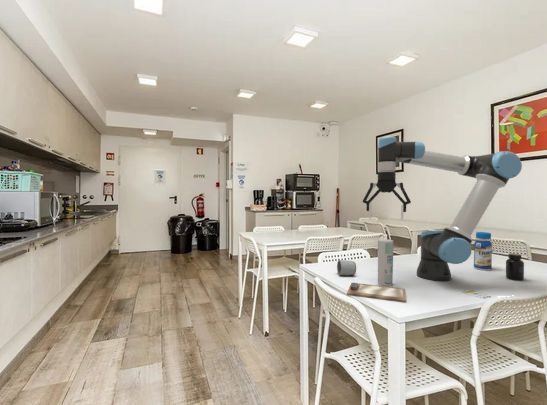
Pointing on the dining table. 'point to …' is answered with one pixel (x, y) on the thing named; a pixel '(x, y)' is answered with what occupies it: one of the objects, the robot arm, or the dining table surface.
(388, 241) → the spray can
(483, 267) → the beverage bottle
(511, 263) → the supplement bottle
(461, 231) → the robot arm
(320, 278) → the dining table surface
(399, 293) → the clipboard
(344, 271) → the grey cylinder
